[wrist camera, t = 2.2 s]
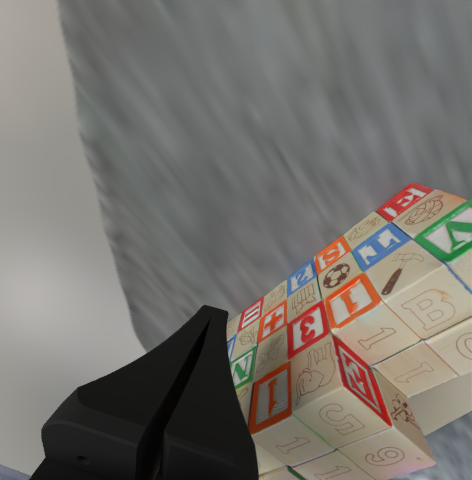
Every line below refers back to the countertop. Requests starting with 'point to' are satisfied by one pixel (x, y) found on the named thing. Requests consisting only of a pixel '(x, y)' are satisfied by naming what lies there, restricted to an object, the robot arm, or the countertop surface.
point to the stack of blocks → (359, 344)
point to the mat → (442, 403)
